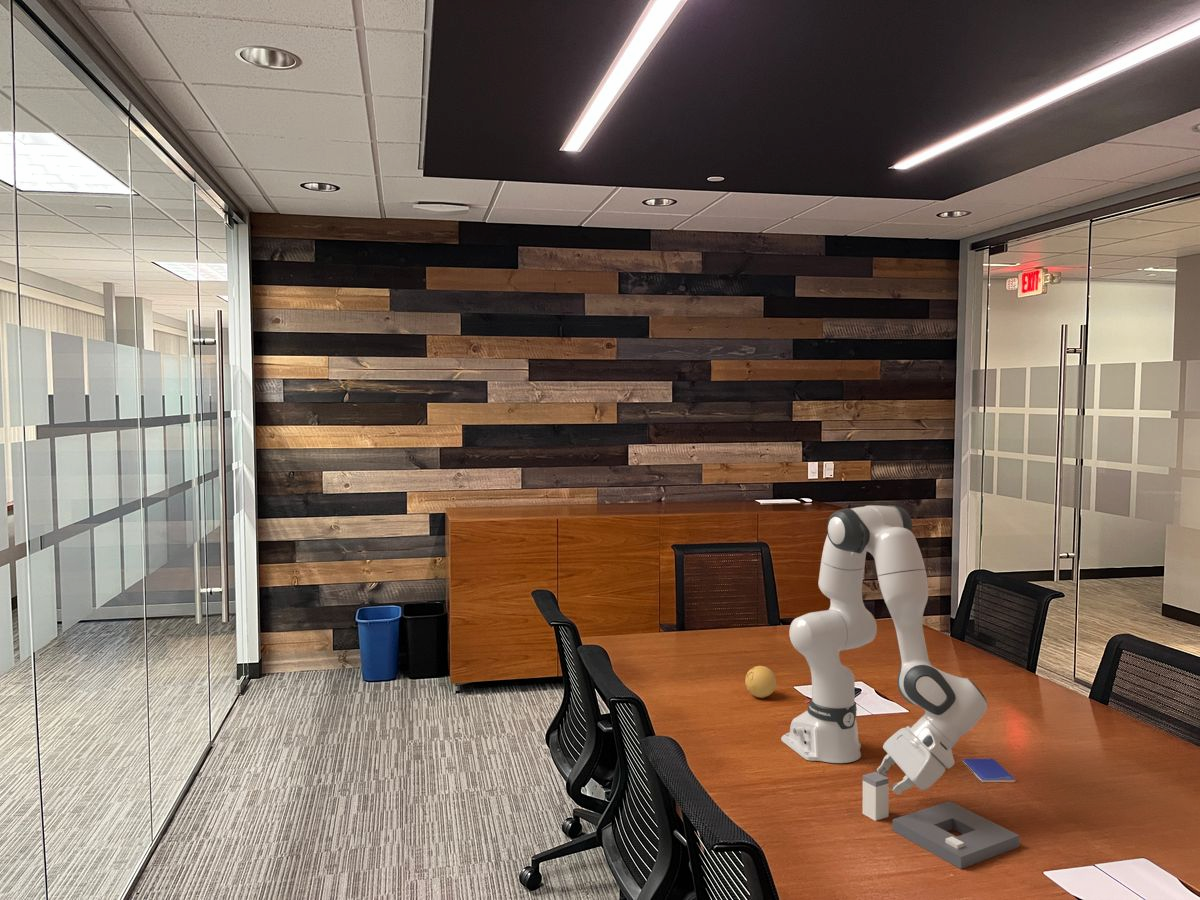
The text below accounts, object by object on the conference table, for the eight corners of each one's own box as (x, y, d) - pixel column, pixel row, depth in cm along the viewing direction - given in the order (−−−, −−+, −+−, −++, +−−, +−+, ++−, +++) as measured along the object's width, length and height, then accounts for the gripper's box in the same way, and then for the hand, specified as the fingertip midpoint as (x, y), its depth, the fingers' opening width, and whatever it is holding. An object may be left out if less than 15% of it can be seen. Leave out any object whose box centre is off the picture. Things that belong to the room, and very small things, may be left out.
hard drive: (1016, 778, 211) (994, 758, 223) (982, 778, 211) (962, 758, 224) (1016, 784, 211) (994, 764, 224) (982, 785, 211) (962, 764, 224)
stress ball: (779, 699, 275) (769, 672, 282) (781, 683, 268) (771, 656, 275) (749, 706, 274) (740, 679, 282) (751, 690, 268) (741, 663, 275)
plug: (862, 813, 196) (862, 775, 196) (875, 809, 198) (875, 771, 198) (875, 820, 193) (875, 782, 192) (888, 816, 195) (888, 778, 194)
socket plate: (892, 830, 188) (892, 815, 188) (949, 811, 197) (949, 797, 197) (960, 869, 172) (960, 853, 172) (1019, 846, 181) (1019, 831, 181)
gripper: (902, 713, 205) (862, 754, 205) (937, 747, 184) (892, 792, 185) (921, 731, 205) (880, 772, 206) (958, 767, 185) (913, 812, 185)
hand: (886, 782), depth 195 cm, fingers open, 8 cm apart
